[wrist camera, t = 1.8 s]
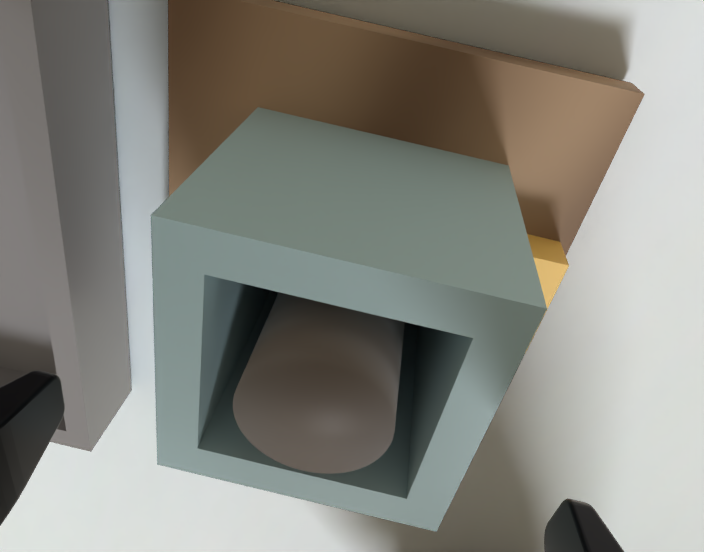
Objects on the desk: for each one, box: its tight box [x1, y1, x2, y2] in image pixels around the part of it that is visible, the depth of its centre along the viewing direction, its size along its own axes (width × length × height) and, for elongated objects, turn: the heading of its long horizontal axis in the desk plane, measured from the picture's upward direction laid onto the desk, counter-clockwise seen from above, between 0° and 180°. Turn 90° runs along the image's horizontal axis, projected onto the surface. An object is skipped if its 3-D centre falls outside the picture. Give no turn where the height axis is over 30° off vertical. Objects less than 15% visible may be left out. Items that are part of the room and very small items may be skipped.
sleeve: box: [151, 107, 569, 532], centre depth 13 cm, size 8×6×6 cm
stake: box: [168, 0, 644, 474], centre depth 13 cm, size 11×11×8 cm
